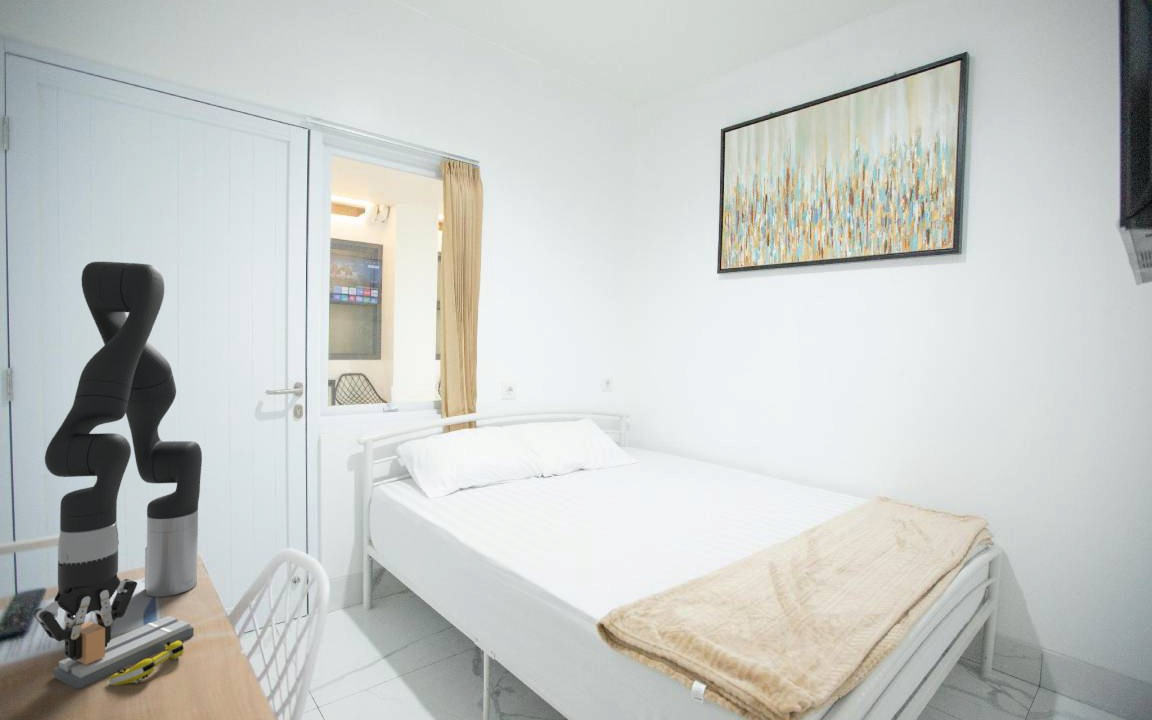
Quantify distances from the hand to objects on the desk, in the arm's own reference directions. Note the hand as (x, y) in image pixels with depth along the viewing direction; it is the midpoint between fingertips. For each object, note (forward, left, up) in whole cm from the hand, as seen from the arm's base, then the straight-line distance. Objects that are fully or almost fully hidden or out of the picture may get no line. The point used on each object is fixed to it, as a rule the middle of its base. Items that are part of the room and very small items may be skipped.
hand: (88, 652), depth 91 cm
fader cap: (0, 0, -2) cm, 2 cm away
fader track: (0, +6, -4) cm, 7 cm away
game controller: (+8, +5, -4) cm, 11 cm away
